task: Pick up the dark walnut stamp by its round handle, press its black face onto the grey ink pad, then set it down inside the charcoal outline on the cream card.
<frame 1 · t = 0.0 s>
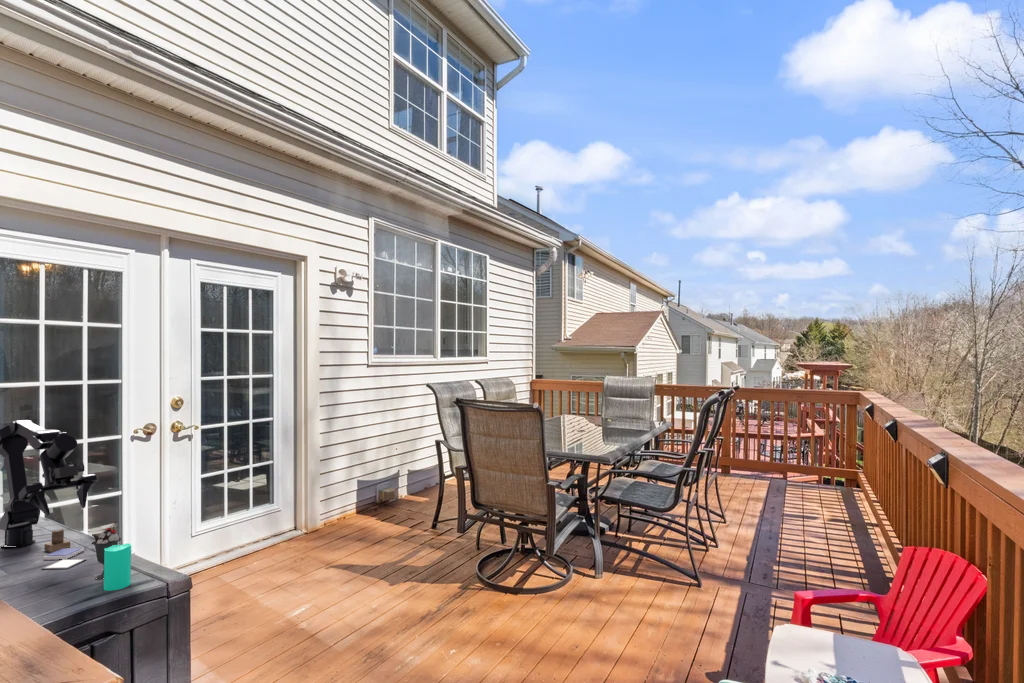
hand: (66, 511, 166), 15 cm above the table, tool tilted 35°, fingers open, 9 cm apart
ink pad: (64, 555, 169), on the table
candle: (117, 586, 145), on the table
stamp: (57, 549, 175), on the table
sundae: (106, 577, 151), on the table
marked card: (64, 564, 161), on the table
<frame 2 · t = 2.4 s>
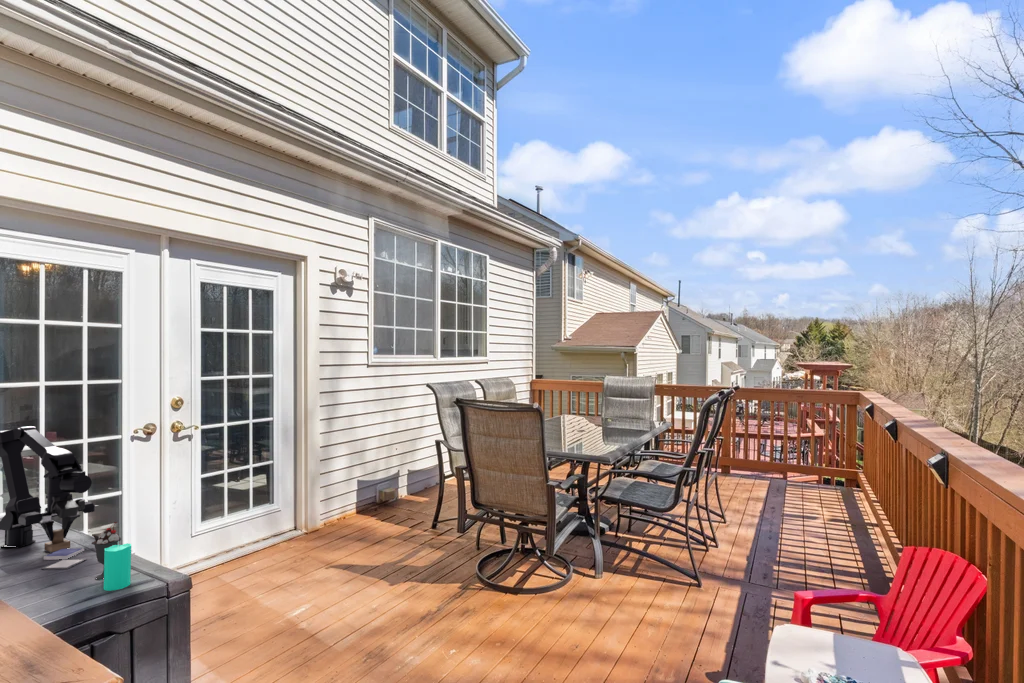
hand: (57, 539, 175), 3 cm above the table, tool pointing down, fingers closed on stamp, 3 cm apart
stamp: (57, 549, 175), on the table, touching gripper
everything else where it was.
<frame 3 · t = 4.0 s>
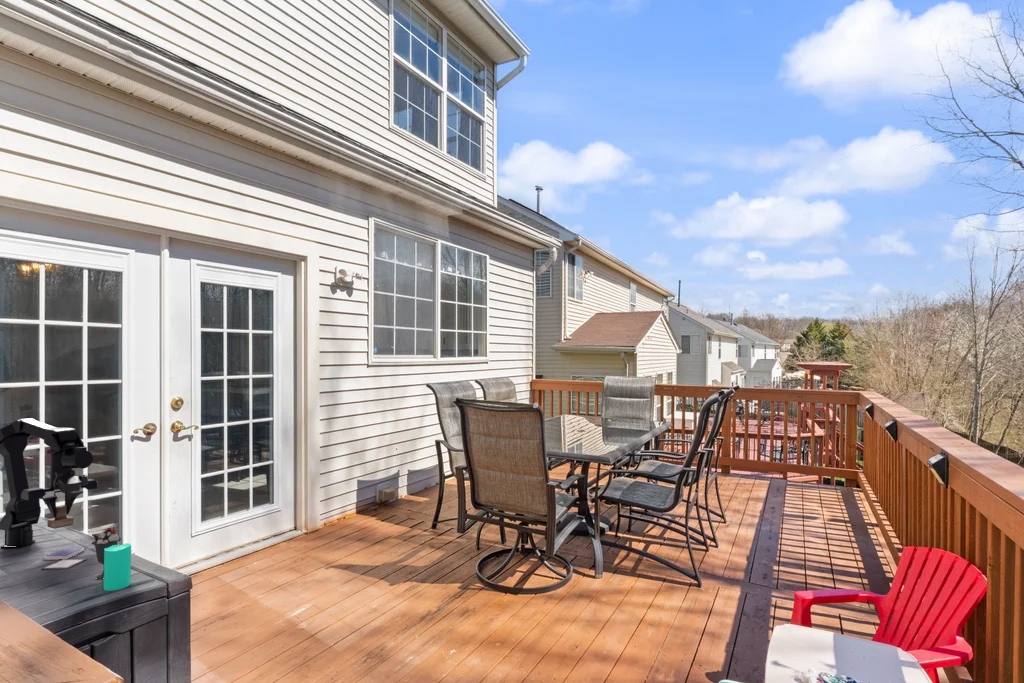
hand: (60, 515, 174), 11 cm above the table, tool pointing down, fingers closed on stamp, 3 cm apart
stamp: (60, 525, 174), point 8 cm above the table, touching gripper
everything else where it was.
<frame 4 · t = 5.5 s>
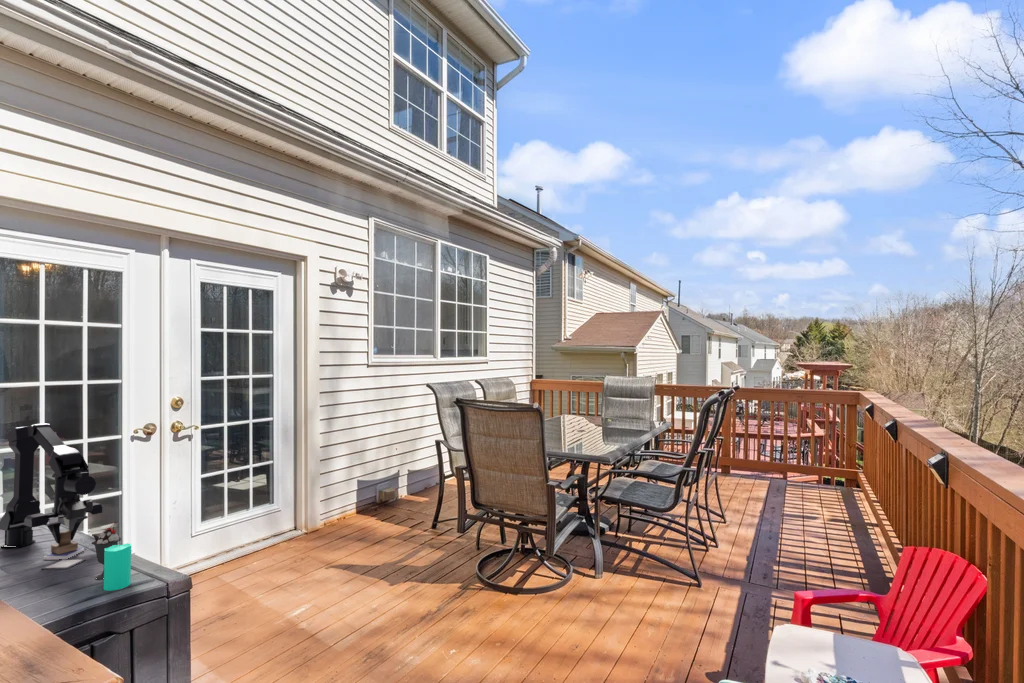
hand: (64, 541, 169), 4 cm above the table, tool pointing down, fingers closed on stamp, 3 cm apart
stamp: (64, 551, 169), point 1 cm above the table, touching gripper, ink pad
everything else where it was.
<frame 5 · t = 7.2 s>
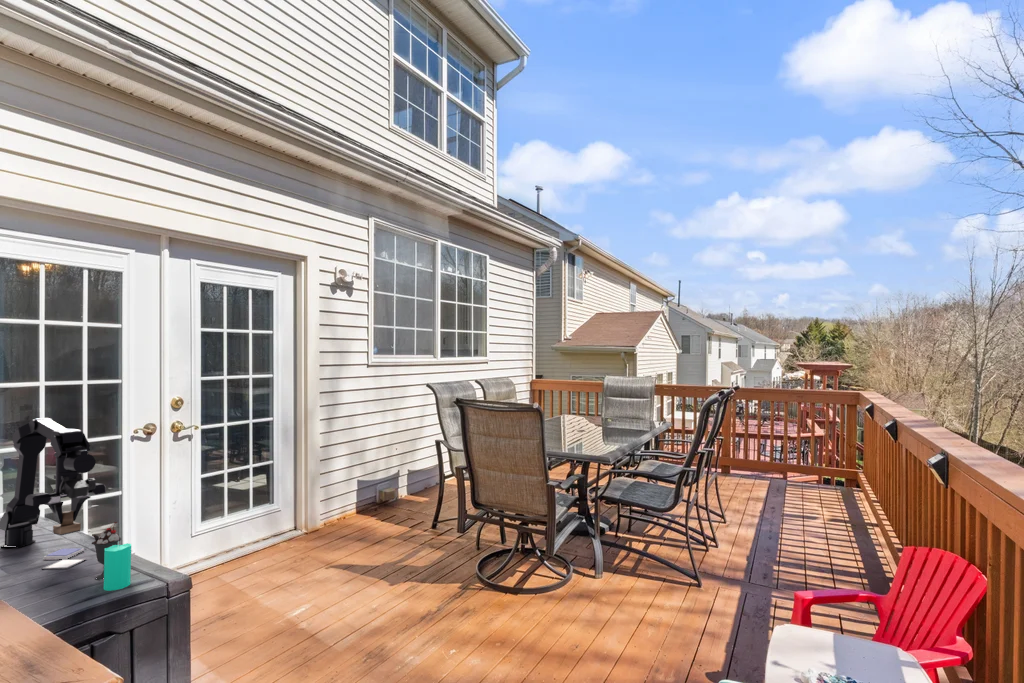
hand: (67, 522, 165), 12 cm above the table, tool pointing down, fingers closed on stamp, 3 cm apart
stamp: (66, 532, 164), point 9 cm above the table, touching gripper
everything else where it was.
when the fingers open (4 cm above the table, at t = 8.6 s): stamp drops 1 cm, resting on marked card.
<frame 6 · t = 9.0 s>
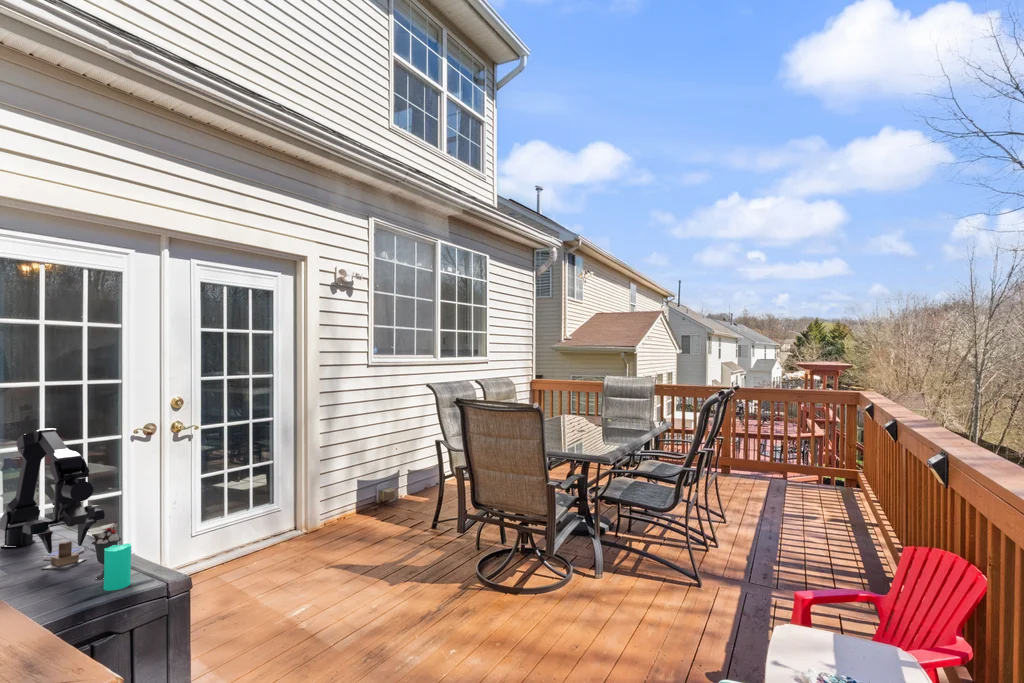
hand: (65, 549, 161), 4 cm above the table, tool pointing down, fingers open, 7 cm apart
stamp: (64, 563, 161), resting on marked card
everything else where it was.
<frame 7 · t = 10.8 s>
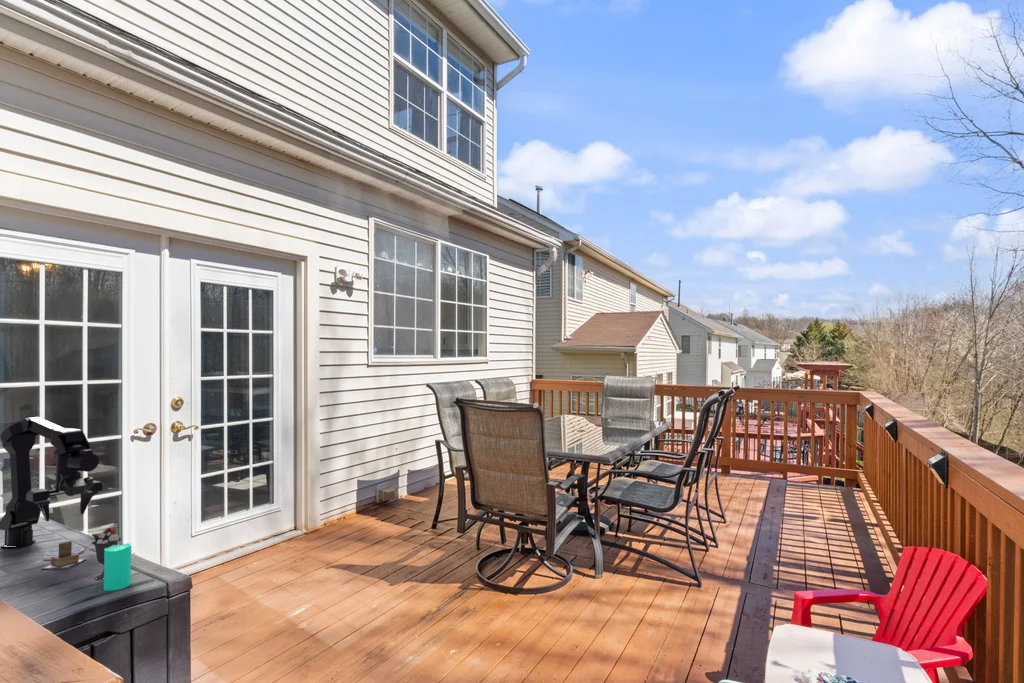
hand: (65, 517, 172), 11 cm above the table, tool pointing down, fingers open, 9 cm apart
nothing on the table moved.
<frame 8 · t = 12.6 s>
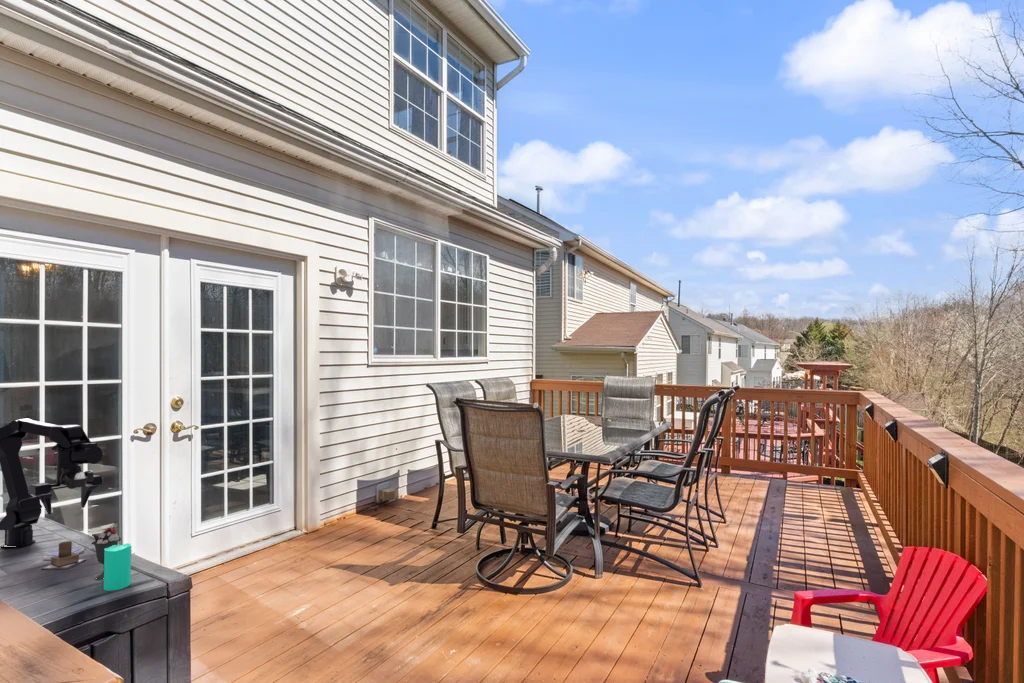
hand: (66, 510, 177), 12 cm above the table, tool pointing down, fingers open, 9 cm apart
nothing on the table moved.
at the end: stamp 0.0 cm off-centre on the marked card, point 0.3 cm above the marked card's base; stamp tilted 0°; the gripper is holding nothing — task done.
